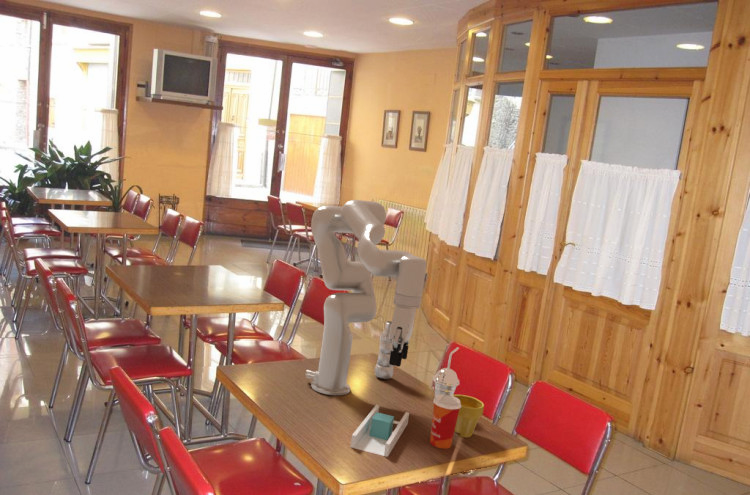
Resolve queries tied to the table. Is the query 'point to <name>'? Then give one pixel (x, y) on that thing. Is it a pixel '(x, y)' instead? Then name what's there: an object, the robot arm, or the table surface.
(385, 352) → the plastic bottle
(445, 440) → the paper cup
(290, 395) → the table surface
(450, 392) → the cup with straw
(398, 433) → the trap channel
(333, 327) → the robot arm
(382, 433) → the teal block
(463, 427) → the plant pot
